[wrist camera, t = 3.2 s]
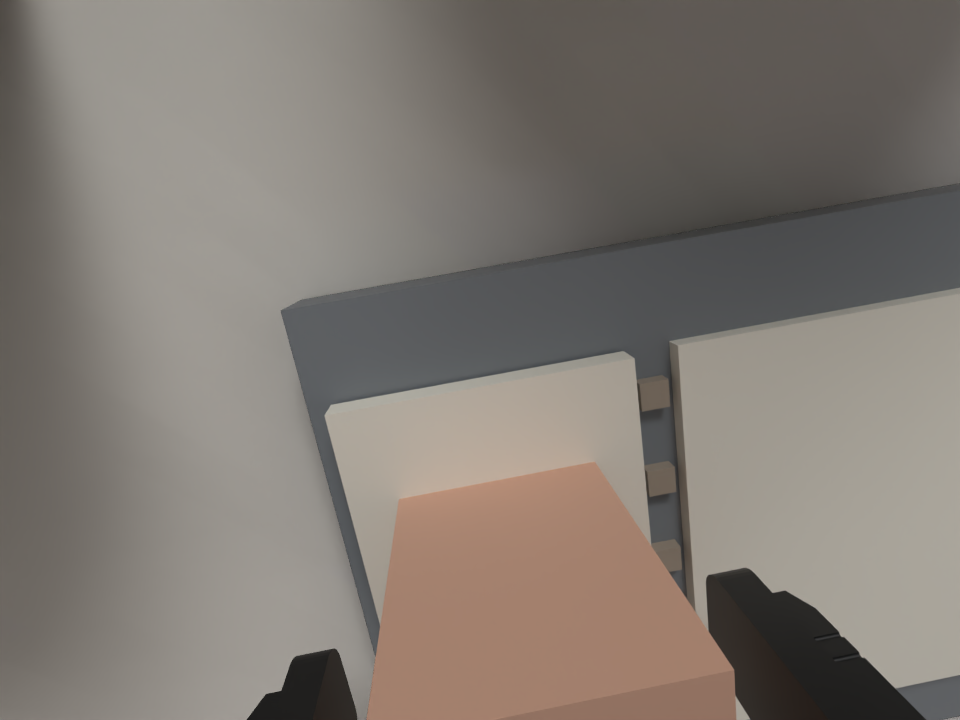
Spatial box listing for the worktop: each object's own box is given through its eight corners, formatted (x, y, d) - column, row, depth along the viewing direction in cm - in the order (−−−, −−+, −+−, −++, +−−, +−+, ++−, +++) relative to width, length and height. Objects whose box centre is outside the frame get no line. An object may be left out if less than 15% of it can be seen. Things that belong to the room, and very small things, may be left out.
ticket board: (1156, 148, 12) (1288, 134, 10) (1072, 635, 15) (1157, 690, 14) (301, 299, 11) (274, 314, 9) (424, 771, 15) (422, 848, 13)
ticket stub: (623, 351, 10) (826, 485, 5) (659, 725, 13) (817, 1083, 8) (330, 405, 10) (208, 607, 5) (427, 774, 13) (419, 1176, 7)
